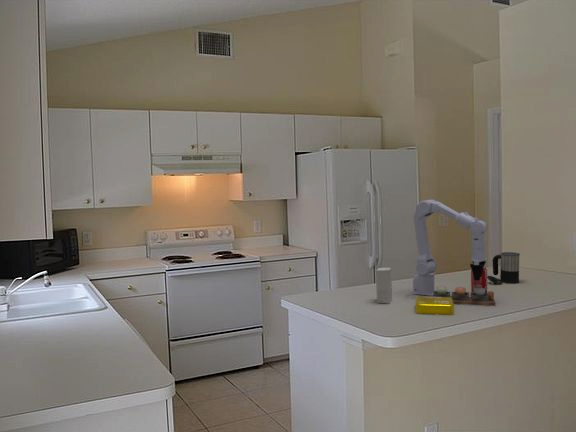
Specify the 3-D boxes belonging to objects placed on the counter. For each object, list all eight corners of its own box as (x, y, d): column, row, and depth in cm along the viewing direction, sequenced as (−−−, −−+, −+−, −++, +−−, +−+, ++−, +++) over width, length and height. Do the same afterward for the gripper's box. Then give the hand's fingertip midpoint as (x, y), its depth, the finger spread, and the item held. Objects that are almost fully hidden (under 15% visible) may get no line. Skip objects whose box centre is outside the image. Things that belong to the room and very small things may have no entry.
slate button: (474, 296, 244) (474, 289, 244) (474, 294, 248) (474, 287, 248) (485, 296, 243) (485, 290, 243) (484, 294, 247) (484, 287, 247)
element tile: (452, 307, 241) (452, 296, 240) (454, 316, 226) (454, 304, 226) (415, 306, 244) (415, 295, 244) (415, 314, 229) (415, 303, 229)
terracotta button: (455, 295, 246) (455, 288, 246) (455, 293, 251) (455, 286, 250) (465, 296, 245) (465, 289, 245) (465, 293, 249) (465, 287, 249)
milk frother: (521, 281, 289) (521, 252, 288) (515, 287, 276) (515, 256, 274) (492, 278, 296) (492, 250, 295) (485, 284, 283) (485, 255, 282)
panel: (427, 302, 247) (427, 292, 247) (428, 297, 257) (428, 287, 256) (495, 305, 239) (495, 294, 239) (493, 300, 249) (493, 289, 249)
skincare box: (389, 303, 247) (389, 270, 245) (376, 303, 249) (375, 269, 247) (392, 299, 255) (392, 267, 253) (378, 299, 256) (378, 266, 255)
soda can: (488, 296, 257) (488, 268, 256) (471, 295, 259) (472, 267, 258) (486, 292, 264) (486, 265, 263) (470, 292, 266) (470, 265, 264)
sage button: (436, 295, 249) (436, 288, 248) (436, 292, 253) (436, 286, 252) (446, 295, 247) (446, 288, 247) (446, 293, 252) (446, 286, 251)
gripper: (486, 250, 240) (485, 282, 241) (489, 246, 253) (489, 276, 254) (469, 250, 242) (468, 281, 244) (472, 245, 256) (472, 275, 257)
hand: (477, 278), depth 249 cm, fingers open, 7 cm apart
